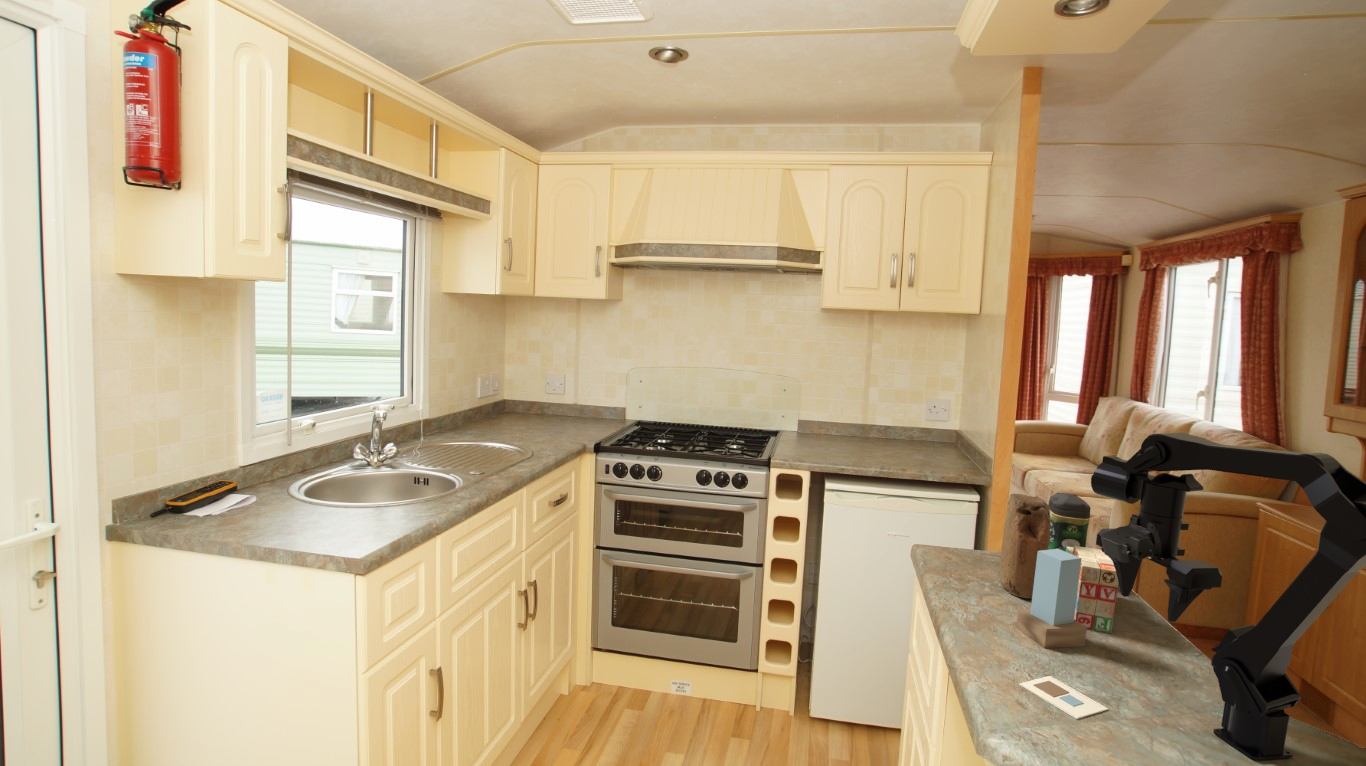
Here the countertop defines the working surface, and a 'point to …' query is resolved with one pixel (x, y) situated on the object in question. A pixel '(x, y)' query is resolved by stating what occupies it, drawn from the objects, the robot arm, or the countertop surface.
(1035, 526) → the block
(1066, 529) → the coffee jar
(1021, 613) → the walnut base
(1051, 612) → the blue brick
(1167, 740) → the countertop surface
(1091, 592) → the stack of blocks
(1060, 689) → the page
